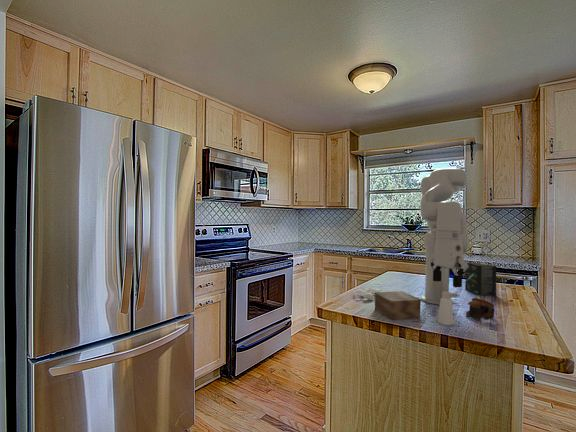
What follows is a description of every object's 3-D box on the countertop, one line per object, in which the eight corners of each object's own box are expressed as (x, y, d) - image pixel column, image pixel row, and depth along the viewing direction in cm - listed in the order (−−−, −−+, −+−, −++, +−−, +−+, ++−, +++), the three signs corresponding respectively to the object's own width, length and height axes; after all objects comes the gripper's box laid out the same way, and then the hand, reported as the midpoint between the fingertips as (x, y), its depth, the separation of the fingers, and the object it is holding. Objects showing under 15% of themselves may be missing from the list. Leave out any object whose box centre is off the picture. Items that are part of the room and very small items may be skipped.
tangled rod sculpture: (351, 293, 155) (350, 284, 155) (380, 291, 154) (379, 283, 154) (356, 303, 135) (356, 293, 136) (390, 301, 134) (389, 292, 134)
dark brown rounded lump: (458, 315, 120) (464, 296, 123) (480, 326, 120) (485, 307, 123) (480, 317, 109) (486, 296, 111) (504, 330, 109) (510, 308, 111)
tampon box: (496, 295, 150) (497, 265, 150) (477, 295, 150) (478, 265, 150) (482, 290, 161) (483, 262, 161) (464, 289, 161) (465, 261, 161)
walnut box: (401, 307, 127) (401, 291, 127) (420, 318, 115) (421, 299, 115) (374, 309, 124) (374, 292, 124) (391, 320, 112) (391, 301, 112)
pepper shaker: (451, 326, 107) (452, 295, 106) (435, 322, 110) (436, 292, 110) (455, 322, 111) (456, 292, 110) (439, 319, 114) (440, 289, 114)
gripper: (476, 237, 102) (475, 289, 102) (439, 234, 119) (438, 279, 119) (457, 237, 101) (456, 289, 100) (422, 234, 117) (421, 279, 117)
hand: (446, 284), depth 110 cm, fingers open, 9 cm apart
